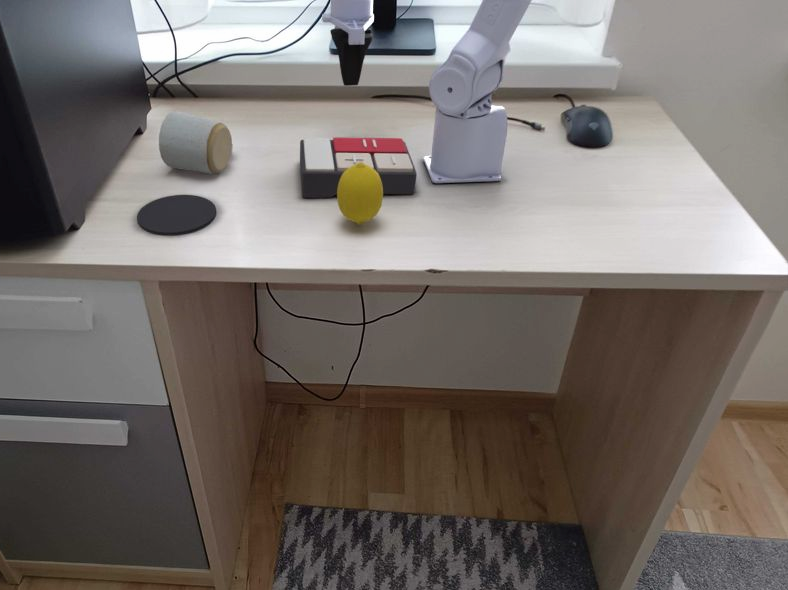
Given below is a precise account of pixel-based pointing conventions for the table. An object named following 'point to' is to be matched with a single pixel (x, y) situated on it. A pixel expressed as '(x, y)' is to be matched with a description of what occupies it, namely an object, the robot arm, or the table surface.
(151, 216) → the felt coaster
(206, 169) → the ceramic mug
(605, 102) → the table surface
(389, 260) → the table surface
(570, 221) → the table surface
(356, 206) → the lemon
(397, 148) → the switch panel
